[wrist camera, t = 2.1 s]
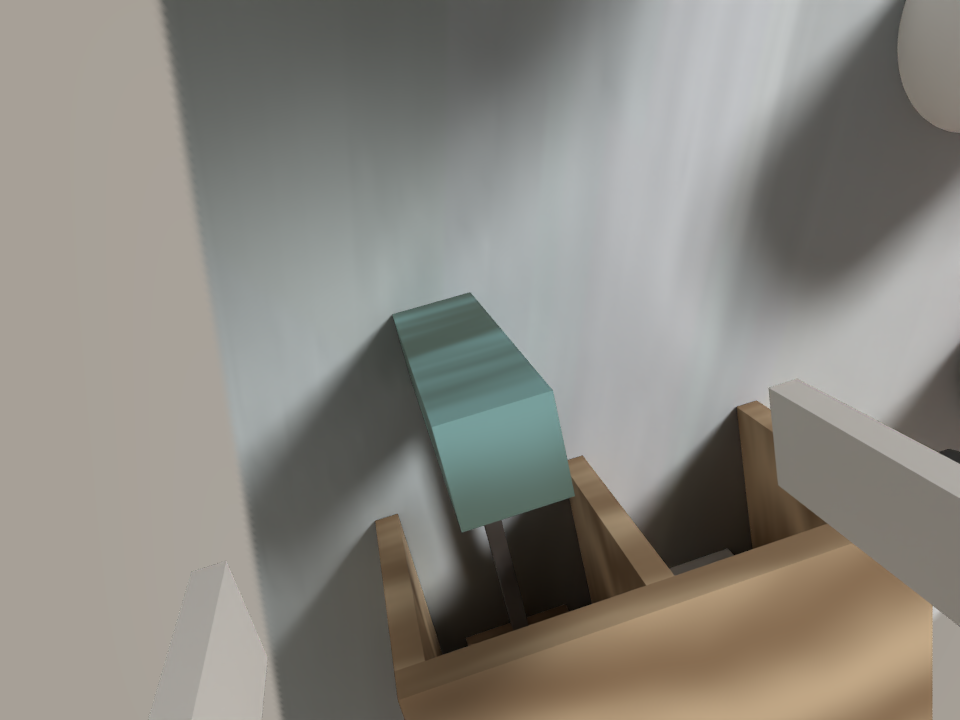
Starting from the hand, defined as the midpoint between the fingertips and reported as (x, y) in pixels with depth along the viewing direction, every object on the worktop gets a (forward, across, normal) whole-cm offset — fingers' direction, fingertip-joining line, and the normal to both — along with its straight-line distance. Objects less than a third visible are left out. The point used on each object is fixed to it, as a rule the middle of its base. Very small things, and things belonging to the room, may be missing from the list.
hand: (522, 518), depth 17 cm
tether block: (+13, 0, -9) cm, 16 cm away
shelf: (+13, +5, -15) cm, 20 cm away
